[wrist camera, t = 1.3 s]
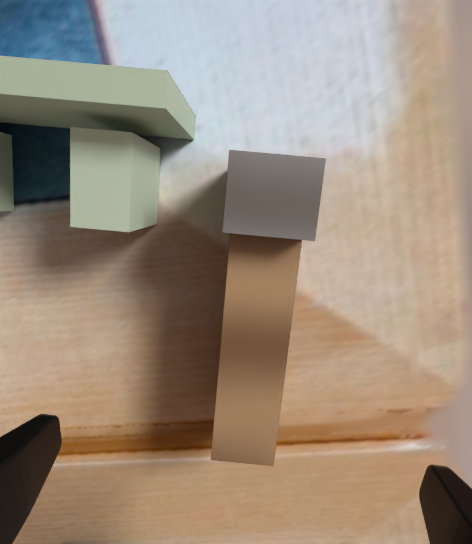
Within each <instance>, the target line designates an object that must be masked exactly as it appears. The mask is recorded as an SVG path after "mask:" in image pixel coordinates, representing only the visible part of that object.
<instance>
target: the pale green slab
mask: <svg viewBox="0 0 472 544" xmlns="http://www.w3.org/2000/svg"><path fill="white" fill-rule="evenodd" d="M195 119H196V115H195V114H194V112H193V110H192V109H191V107H190V106H189V104H188V102H187V101H186V99H185V98H184V96H183V94H182V93H181V91H180V90H179V88H178V86H177V85H176V83H175V82H174V80H173V78H172V77H171V75H170V74H169V72H168V71H167V70H156V69H144V68H133V67H122V66H110V65H99V64H88V63H76V62H65V61H54V60H42V59H31V58H19V57H8V56H0V122H2V123H14V124H25V125H36V126H47V127H58V128H69V129H70V227H77V228H88V229H99V230H110V231H121V232H132V231H135V230H138V229H142V228H145V227H149V226H152V225H155V224H157V217H158V196H159V174H160V153H161V149H160V148H159V147H157V146H155V145H153V144H152V143H150V142H148V141H146V140H145V139H143V138H141V137H139V136H138V135H147V136H158V137H169V138H180V139H191V140H194V135H195ZM1 211H14V191H13V157H12V135H9V134H6V133H2V132H0V212H1Z"/></svg>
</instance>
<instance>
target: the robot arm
mask: <svg viewBox="0 0 472 544" xmlns="http://www.w3.org/2000/svg"><path fill="white" fill-rule="evenodd" d="M61 442H62V440H61V432H60V423H59V418H58V417H57V416H55V415H48V414H40V415H38V416H36V417H34V418H33V419H31V420H29V421H27V422H26V423H24V424H22V425H20V426H19V427H17V428H15V429H13V430H12V431H10V432H8V433H7V434H5V435H3V436H1V437H0V544H12V543H13V541H14V540H15V538H16V536H17V535H18V533H19V531H20V529H21V528H22V526H23V524H24V523H25V521H26V519H27V517H28V515H29V514H30V512H31V510H32V508H33V506H34V504H35V502H36V500H37V497H38V495H39V493H40V491H41V489H42V487H43V485H44V483H45V481H46V478H47V476H48V474H49V472H50V470H51V468H52V466H53V464H54V462H55V459H56V457H57V455H58V453H59V451H60V448H61ZM419 498H420V503H421V507H422V512H423V516H424V520H425V524H426V529H427V533H428V537H429V541H430V544H472V488H471V487H470V486H468V485H467V484H466V483H465V482H464V481H463V480H462V479H461V478H460V477H459V476H458V475H457V474H455V473H454V472H453V471H452V470H451V469H450V468H448V467H446V466H439V465H429V466H428V467H427V469H426V472H425V475H424V478H423V481H422V484H421V487H420V491H419Z"/></svg>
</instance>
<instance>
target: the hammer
mask: <svg viewBox="0 0 472 544" xmlns="http://www.w3.org/2000/svg"><path fill="white" fill-rule="evenodd" d="M325 160H326V159H324V158H313V157H302V156H291V155H280V154H269V153H258V152H247V151H236V150H229V160H228V172H227V184H226V196H225V208H224V220H223V233H230V244H229V255H228V267H227V279H226V290H225V302H224V313H223V325H222V336H221V348H220V360H219V371H218V383H217V394H216V406H215V417H214V429H213V440H212V452H211V460H217V461H227V462H237V463H247V464H257V465H268V466H274V458H275V450H276V442H277V434H278V426H279V418H280V410H281V402H282V394H283V386H284V378H285V370H286V362H287V354H288V346H289V338H290V330H291V322H292V314H293V307H294V299H295V291H296V283H297V275H298V267H299V259H300V251H301V243H302V240H309V241H315V236H316V228H317V221H318V213H319V206H320V198H321V191H322V183H323V176H324V168H325Z"/></svg>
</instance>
